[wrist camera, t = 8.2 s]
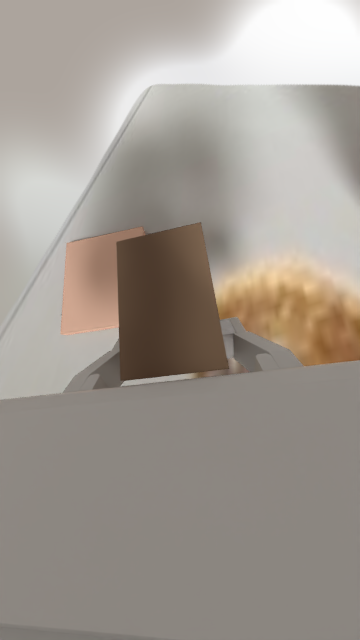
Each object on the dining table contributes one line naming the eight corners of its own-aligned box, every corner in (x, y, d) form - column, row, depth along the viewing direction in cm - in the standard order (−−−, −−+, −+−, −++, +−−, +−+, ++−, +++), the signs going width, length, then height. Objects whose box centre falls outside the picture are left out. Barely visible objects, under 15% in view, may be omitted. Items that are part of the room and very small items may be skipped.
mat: (144, 231, 23) (142, 226, 22) (152, 322, 19) (149, 320, 18) (72, 247, 24) (66, 243, 23) (67, 335, 21) (60, 334, 20)
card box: (202, 293, 16) (200, 222, 8) (213, 360, 15) (228, 368, 6) (161, 300, 17) (116, 241, 8) (168, 365, 15) (120, 381, 6)
